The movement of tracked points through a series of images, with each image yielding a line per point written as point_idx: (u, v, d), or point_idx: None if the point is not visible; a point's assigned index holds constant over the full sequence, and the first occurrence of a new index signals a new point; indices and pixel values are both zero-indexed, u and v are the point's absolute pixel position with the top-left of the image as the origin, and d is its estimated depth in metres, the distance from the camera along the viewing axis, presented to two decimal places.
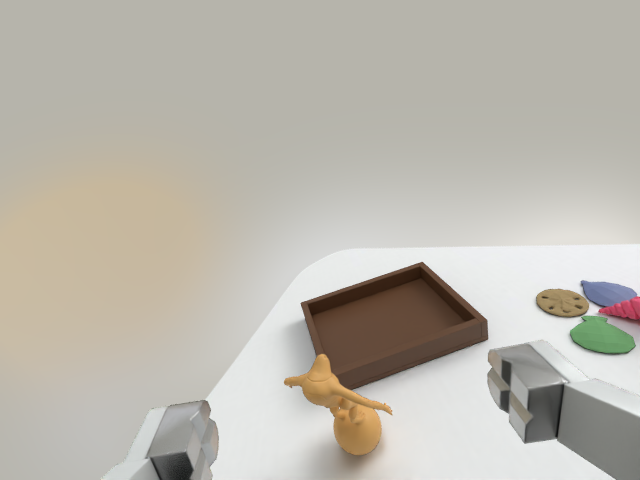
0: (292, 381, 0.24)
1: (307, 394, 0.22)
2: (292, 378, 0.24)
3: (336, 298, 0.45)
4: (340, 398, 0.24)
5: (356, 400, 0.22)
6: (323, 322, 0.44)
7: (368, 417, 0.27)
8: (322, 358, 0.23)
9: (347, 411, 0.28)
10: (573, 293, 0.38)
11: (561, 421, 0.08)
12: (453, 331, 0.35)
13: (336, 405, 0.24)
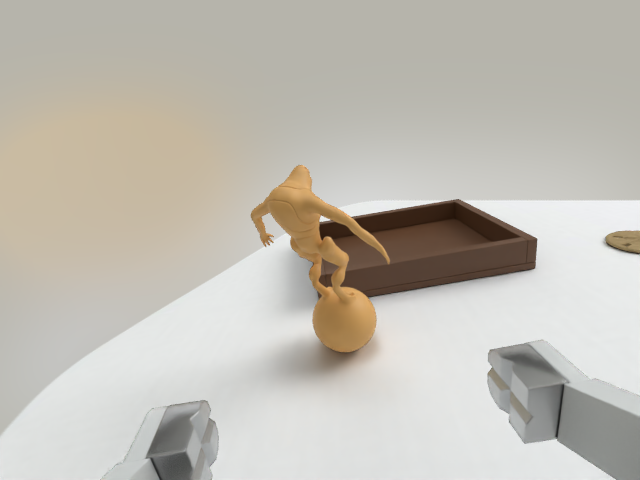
0: (260, 206, 0.18)
1: (272, 202, 0.16)
2: None
3: None
4: (321, 240, 0.18)
5: (337, 215, 0.15)
6: None
7: (360, 300, 0.20)
8: (301, 167, 0.17)
9: (333, 290, 0.21)
10: None
11: (561, 420, 0.08)
12: (490, 245, 0.27)
13: (314, 248, 0.18)
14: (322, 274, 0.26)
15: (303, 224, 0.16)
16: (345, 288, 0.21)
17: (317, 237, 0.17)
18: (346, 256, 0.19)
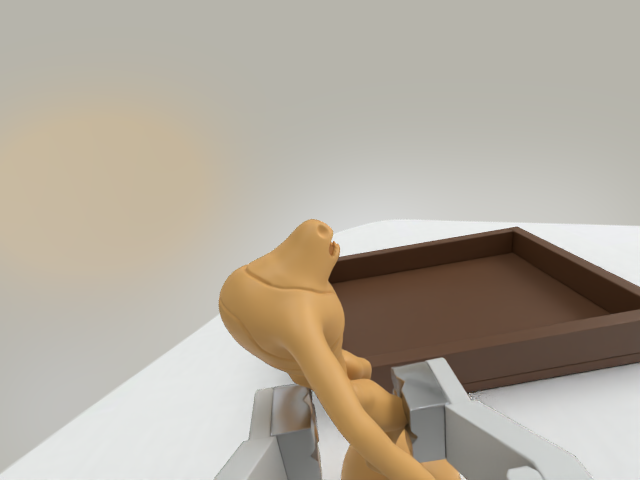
0: None
1: None
2: None
3: (371, 262, 0.28)
4: None
5: (329, 405, 0.05)
6: (345, 294, 0.27)
7: None
8: (310, 227, 0.07)
9: None
10: None
11: (449, 441, 0.08)
12: (612, 322, 0.17)
13: None
14: None
15: (283, 361, 0.07)
16: None
17: None
18: (403, 417, 0.09)
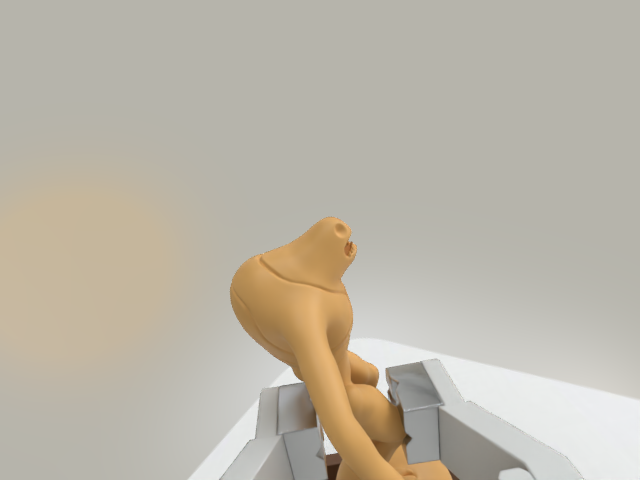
0: None
1: None
2: None
3: None
4: None
5: (318, 404, 0.05)
6: None
7: None
8: (328, 225, 0.07)
9: None
10: None
11: (443, 442, 0.08)
12: None
13: None
14: None
15: (285, 353, 0.07)
16: None
17: None
18: (402, 430, 0.08)
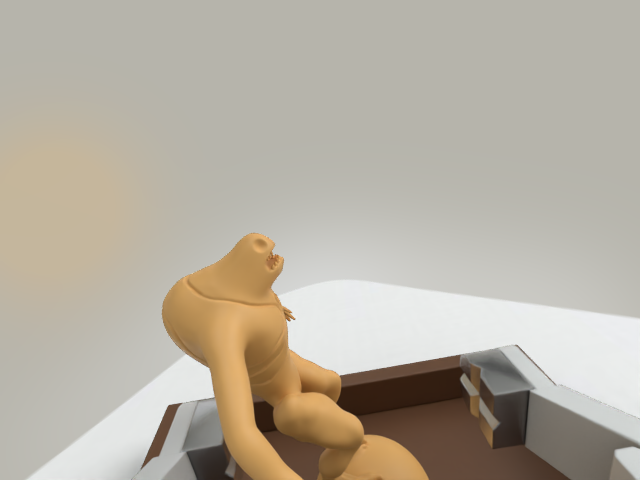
0: None
1: (163, 306, 0.08)
2: None
3: (263, 411, 0.16)
4: (285, 394, 0.08)
5: (221, 416, 0.06)
6: None
7: None
8: (247, 241, 0.07)
9: (357, 451, 0.11)
10: None
11: (529, 426, 0.08)
12: None
13: (270, 402, 0.08)
14: None
15: None
16: (384, 459, 0.11)
17: (272, 389, 0.08)
18: (352, 436, 0.08)
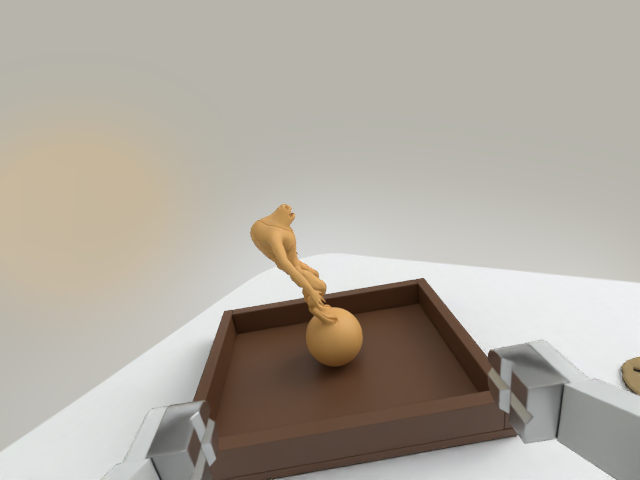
0: None
1: None
2: None
3: (278, 313, 0.29)
4: None
5: (277, 256, 0.18)
6: (248, 347, 0.28)
7: (338, 327, 0.22)
8: (282, 206, 0.20)
9: (326, 309, 0.24)
10: None
11: (562, 421, 0.08)
12: (447, 408, 0.17)
13: None
14: None
15: (271, 253, 0.20)
16: (338, 311, 0.23)
17: None
18: (321, 286, 0.21)
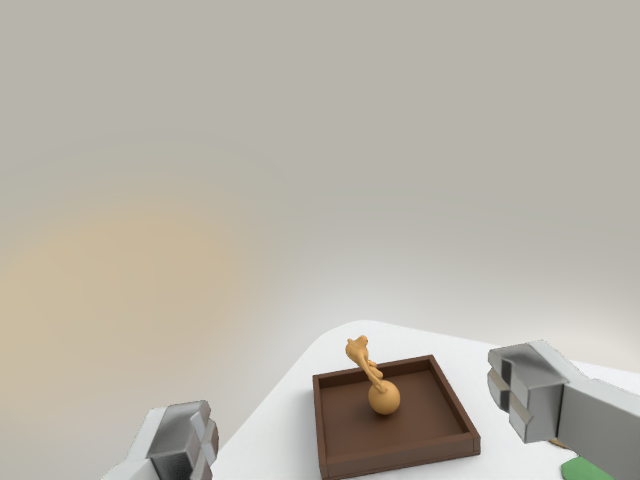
0: (349, 341, 0.42)
1: None
2: (350, 339, 0.42)
3: (345, 377, 0.49)
4: None
5: (363, 367, 0.38)
6: (330, 399, 0.47)
7: (388, 394, 0.42)
8: (362, 338, 0.40)
9: (380, 382, 0.43)
10: None
11: (561, 421, 0.08)
12: (446, 442, 0.37)
13: (363, 368, 0.41)
14: (324, 464, 0.37)
15: (356, 361, 0.40)
16: (386, 384, 0.43)
17: None
18: (380, 375, 0.41)
